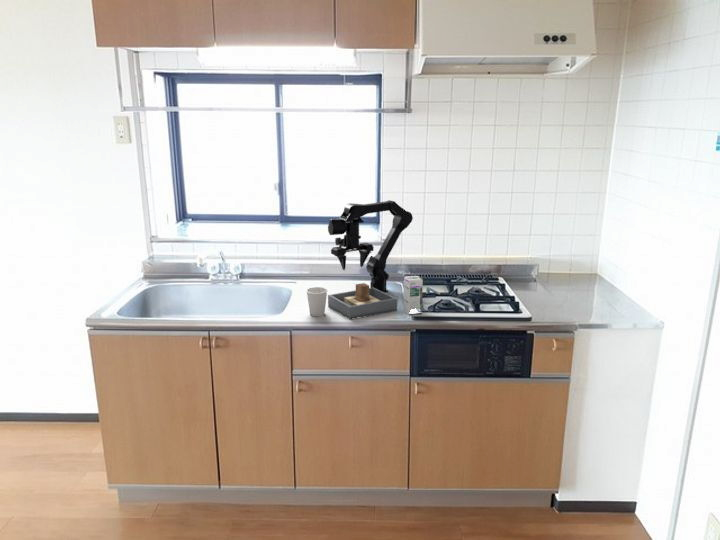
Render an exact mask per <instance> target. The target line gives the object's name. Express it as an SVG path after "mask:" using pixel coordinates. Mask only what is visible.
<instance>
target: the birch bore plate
mask: <svg viewBox="0 0 720 540" xmlns="http://www.w3.org/2000/svg"><path fill="white" fill-rule="evenodd" d="M377 301H381V300H379V299H377V298H375V297H373V296H371V295H369V301H363V302H359V301H357V300H356V296H350V297H345V298H344V303H346V304H348V305H350V306H355V305H360V304H366V303H371V302H377Z"/></svg>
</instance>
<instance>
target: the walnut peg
mask: <svg viewBox="0 0 720 540" xmlns="http://www.w3.org/2000/svg"><path fill="white" fill-rule="evenodd" d="M369 288H370V284H367V283H366V282H363V283H356V284H355V290H356V300H357V301H359V302H363V301H369Z"/></svg>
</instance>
